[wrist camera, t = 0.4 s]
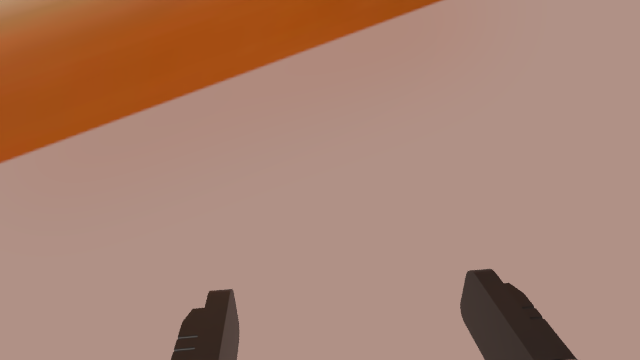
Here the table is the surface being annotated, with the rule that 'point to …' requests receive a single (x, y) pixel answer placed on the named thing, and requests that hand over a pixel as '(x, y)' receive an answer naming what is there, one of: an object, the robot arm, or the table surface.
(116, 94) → the table surface
